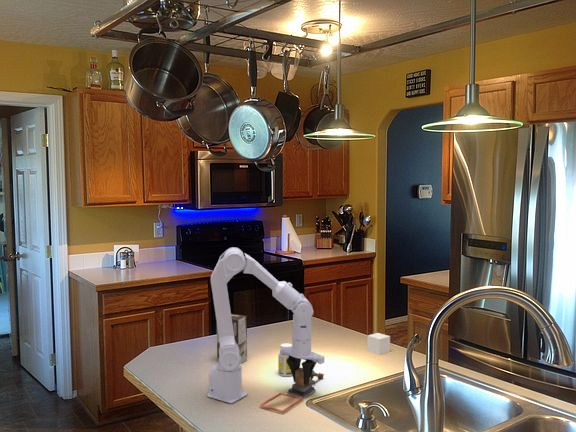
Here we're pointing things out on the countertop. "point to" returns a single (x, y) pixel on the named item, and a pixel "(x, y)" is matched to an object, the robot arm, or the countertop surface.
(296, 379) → the stamp
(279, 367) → the supplement bottle
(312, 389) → the ink pad
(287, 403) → the red rimmed tray
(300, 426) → the countertop surface
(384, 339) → the white cube
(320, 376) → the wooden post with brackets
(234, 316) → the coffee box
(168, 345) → the countertop surface
